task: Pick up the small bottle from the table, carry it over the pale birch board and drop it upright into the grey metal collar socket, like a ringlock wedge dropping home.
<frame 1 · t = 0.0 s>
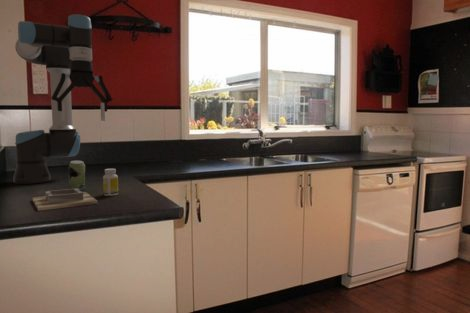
hand: (83, 120, 135), 28 cm above the countertop, fingers open, 13 cm apart
beverage can: (77, 190, 150), on the countertop
socket board: (64, 202, 129), on the countertop
supplement bottle: (111, 195, 142), on the countertop
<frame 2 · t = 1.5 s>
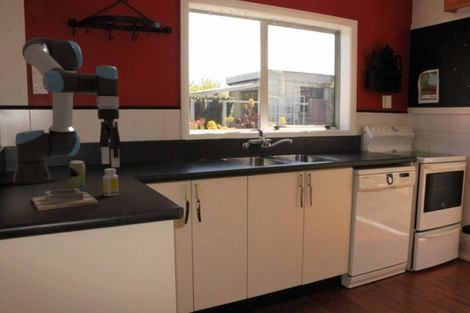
hand: (110, 165, 140), 11 cm above the countertop, fingers open, 13 cm apart
nothing on the countertop moved.
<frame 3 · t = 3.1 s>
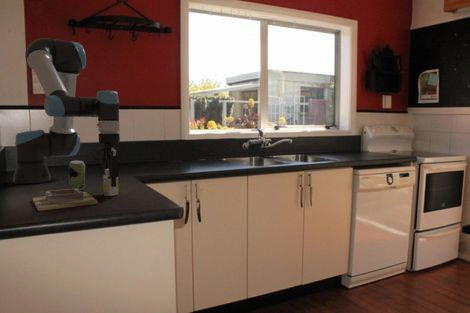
hand: (111, 193, 142), 0 cm above the countertop, fingers closed on supplement bottle, 5 cm apart
supplement bottle: (111, 195, 142), on the countertop, touching gripper
everything else where it was.
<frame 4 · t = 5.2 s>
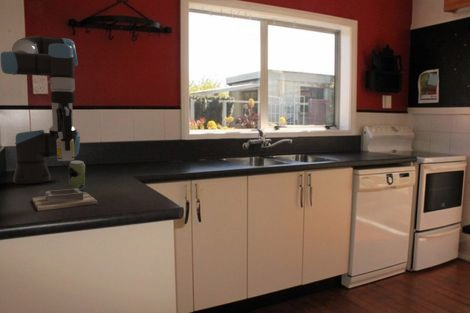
hand: (65, 159, 129), 15 cm above the countertop, fingers closed on supplement bottle, 5 cm apart
supplement bottle: (66, 160, 129), point 14 cm above the countertop, touching gripper
everything else where it was.
when the fingers open (4 cm above the countertop, at t = 7.5 s): supplement bottle drops 3 cm, resting on socket board.
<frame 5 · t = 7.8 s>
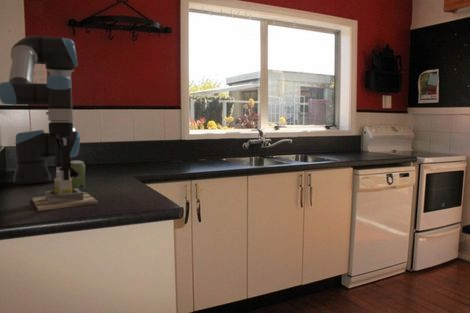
hand: (63, 187, 129), 5 cm above the countertop, fingers open, 9 cm apart
supplement bottle: (64, 199, 129), point 1 cm above the countertop, touching socket board
everything else where it was.
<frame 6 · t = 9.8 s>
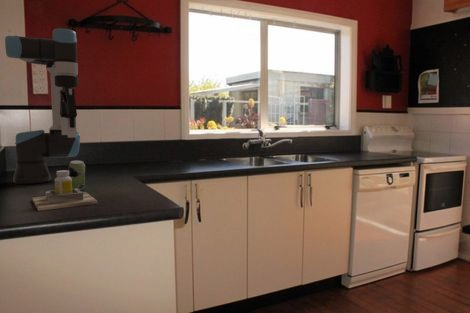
hand: (68, 136, 133), 23 cm above the countertop, fingers open, 13 cm apart
nothing on the countertop moved.
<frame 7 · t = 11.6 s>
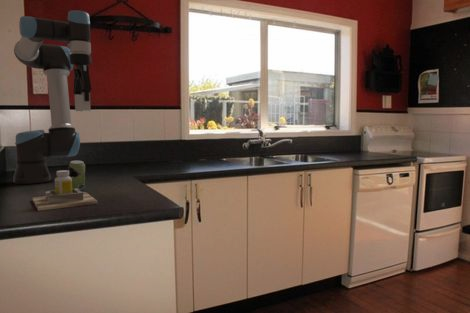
hand: (82, 110, 143), 32 cm above the countertop, fingers open, 13 cm apart
nothing on the countertop moved.
at the end: supplement bottle 0.2 cm from the socket board (horizontally); supplement bottle point 0.8 cm above the countertop; supplement bottle tilted 0° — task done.
